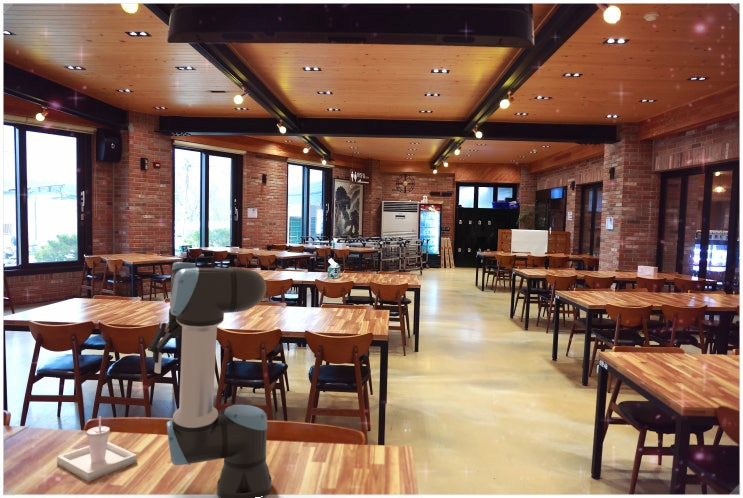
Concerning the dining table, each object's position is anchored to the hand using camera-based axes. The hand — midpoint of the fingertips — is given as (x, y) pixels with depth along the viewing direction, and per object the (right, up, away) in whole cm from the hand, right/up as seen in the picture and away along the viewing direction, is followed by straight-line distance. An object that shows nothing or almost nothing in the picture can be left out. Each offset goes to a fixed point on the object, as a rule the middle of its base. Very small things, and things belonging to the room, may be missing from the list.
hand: (176, 370), depth 173 cm
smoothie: (-19, -25, -15) cm, 34 cm away
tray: (-19, -25, -15) cm, 35 cm away
